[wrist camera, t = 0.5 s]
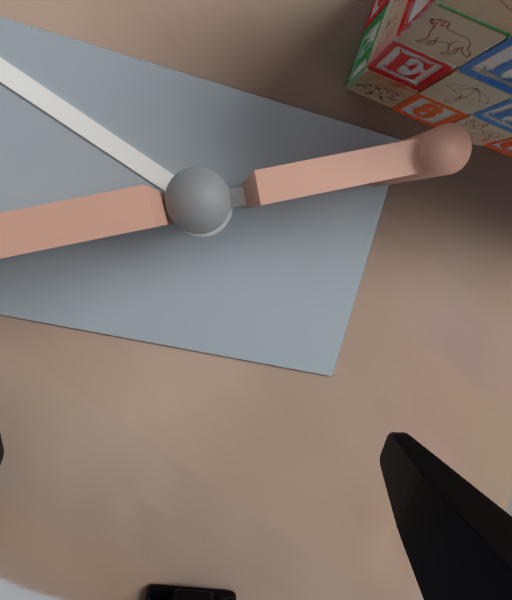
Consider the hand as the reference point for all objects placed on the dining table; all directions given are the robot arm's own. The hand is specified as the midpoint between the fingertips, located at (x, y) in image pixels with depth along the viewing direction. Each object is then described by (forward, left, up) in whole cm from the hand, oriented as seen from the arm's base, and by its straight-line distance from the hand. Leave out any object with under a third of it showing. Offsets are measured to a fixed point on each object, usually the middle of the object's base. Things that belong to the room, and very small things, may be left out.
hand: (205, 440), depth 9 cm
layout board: (+4, +4, -14) cm, 15 cm away
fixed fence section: (+8, -4, -14) cm, 17 cm away
